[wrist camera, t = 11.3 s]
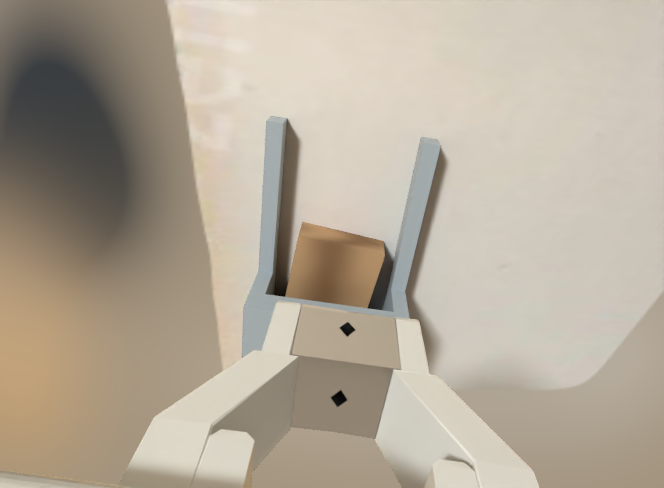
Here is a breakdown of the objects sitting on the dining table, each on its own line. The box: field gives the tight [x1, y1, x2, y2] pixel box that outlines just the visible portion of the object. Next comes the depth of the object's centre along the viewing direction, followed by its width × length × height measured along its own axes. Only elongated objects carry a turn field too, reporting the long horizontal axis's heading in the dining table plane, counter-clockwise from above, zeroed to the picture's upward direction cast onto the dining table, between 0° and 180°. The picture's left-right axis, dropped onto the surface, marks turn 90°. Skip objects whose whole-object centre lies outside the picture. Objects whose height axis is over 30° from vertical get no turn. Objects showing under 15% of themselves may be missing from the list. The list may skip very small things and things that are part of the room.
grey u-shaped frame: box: [242, 116, 441, 358], centre depth 34 cm, size 12×20×7 cm, turn 173°
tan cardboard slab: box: [285, 222, 385, 308], centre depth 37 cm, size 7×10×3 cm
